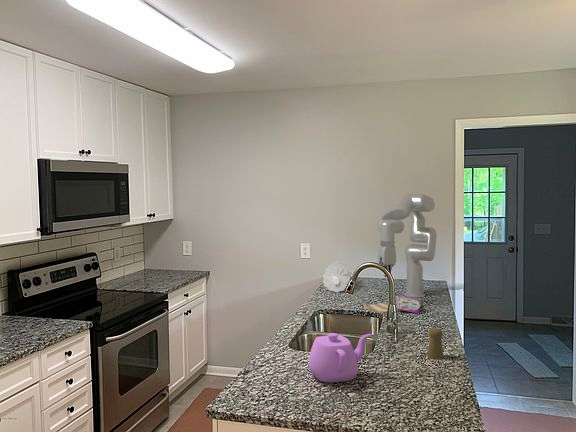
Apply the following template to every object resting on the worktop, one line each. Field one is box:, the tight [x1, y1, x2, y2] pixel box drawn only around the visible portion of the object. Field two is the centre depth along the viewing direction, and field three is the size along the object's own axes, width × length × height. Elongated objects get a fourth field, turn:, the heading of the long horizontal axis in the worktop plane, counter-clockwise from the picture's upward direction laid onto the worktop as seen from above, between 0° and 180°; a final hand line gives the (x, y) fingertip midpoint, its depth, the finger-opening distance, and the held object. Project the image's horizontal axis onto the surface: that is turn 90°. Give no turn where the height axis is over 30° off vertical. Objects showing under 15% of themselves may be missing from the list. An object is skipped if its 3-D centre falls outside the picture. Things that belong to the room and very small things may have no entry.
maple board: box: [363, 302, 402, 315], centre depth 262 cm, size 15×15×1 cm
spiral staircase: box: [322, 260, 353, 293], centre depth 314 cm, size 18×18×25 cm
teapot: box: [308, 332, 372, 383], centre depth 169 cm, size 23×21×15 cm
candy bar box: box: [395, 293, 421, 314], centre depth 261 cm, size 11×5×16 cm
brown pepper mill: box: [427, 328, 444, 360], centre depth 188 cm, size 6×6×11 cm
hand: (387, 277), depth 264 cm, fingers closed
